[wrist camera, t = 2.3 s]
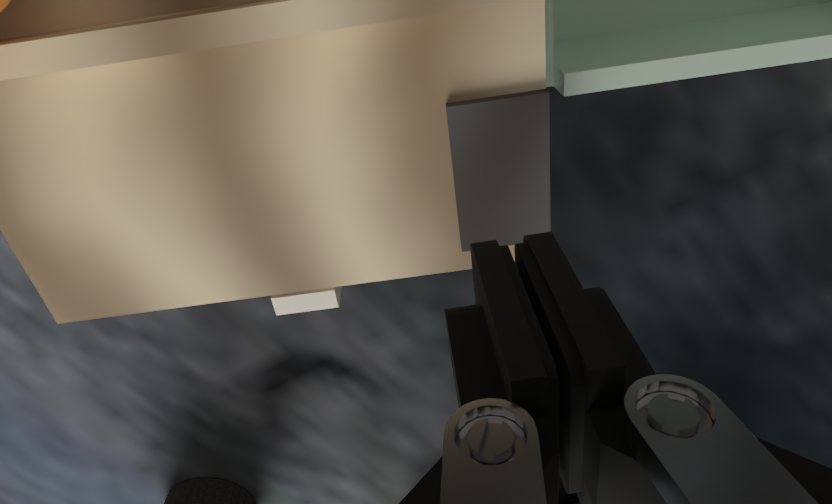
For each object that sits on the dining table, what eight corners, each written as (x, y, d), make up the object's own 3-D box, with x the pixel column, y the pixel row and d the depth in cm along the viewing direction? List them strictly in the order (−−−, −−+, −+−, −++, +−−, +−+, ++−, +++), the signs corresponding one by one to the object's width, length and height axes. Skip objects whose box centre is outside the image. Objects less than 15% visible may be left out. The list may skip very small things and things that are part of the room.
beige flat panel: (527, -380, 12) (560, -458, 10) (539, 241, 20) (559, 284, 18) (-240, -241, 13) (-389, -280, 10) (74, 304, 21) (32, 353, 18)
